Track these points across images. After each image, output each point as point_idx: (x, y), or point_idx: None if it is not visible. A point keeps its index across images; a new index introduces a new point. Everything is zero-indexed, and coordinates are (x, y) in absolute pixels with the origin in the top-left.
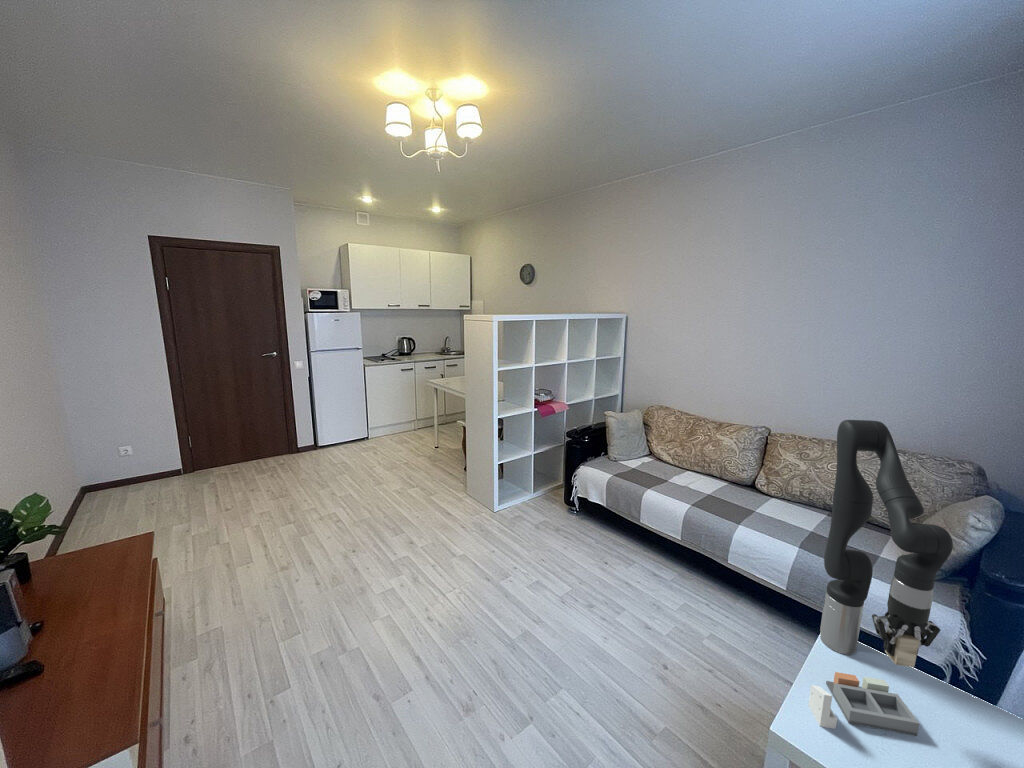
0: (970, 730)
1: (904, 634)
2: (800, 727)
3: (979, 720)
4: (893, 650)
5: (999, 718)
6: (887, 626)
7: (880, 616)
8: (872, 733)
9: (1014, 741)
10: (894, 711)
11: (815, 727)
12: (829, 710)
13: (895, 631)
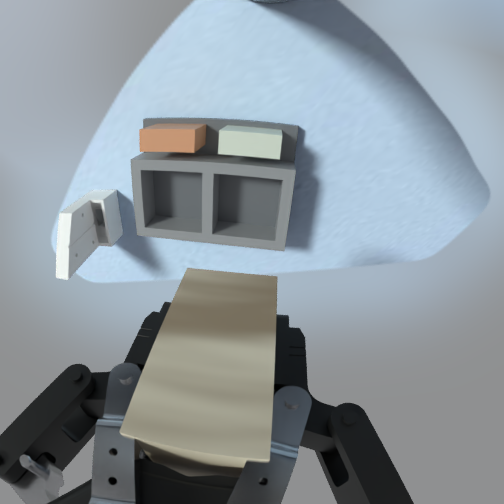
0: (414, 211)
1: (192, 470)
2: None
3: (452, 189)
4: None
5: (486, 185)
6: (99, 435)
7: (19, 495)
8: None
9: (463, 228)
10: (270, 187)
11: None
12: (88, 255)
13: (141, 456)
